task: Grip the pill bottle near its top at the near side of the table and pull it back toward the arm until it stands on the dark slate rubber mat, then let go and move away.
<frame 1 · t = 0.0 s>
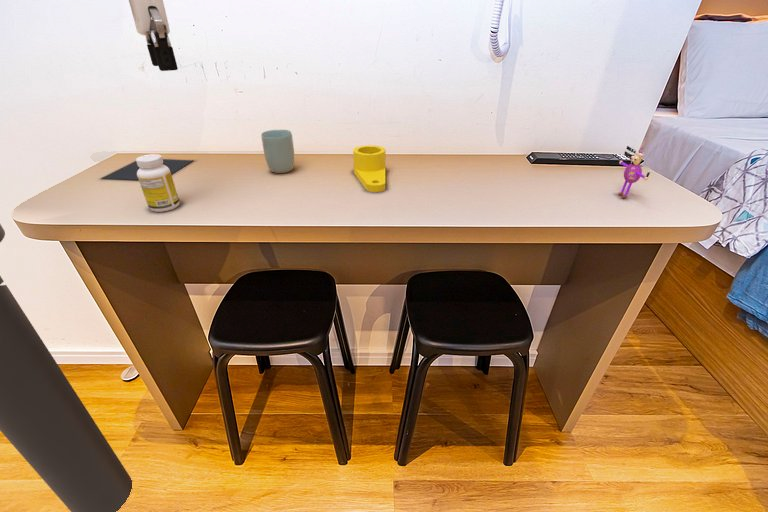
hand: (165, 67, 79), 27 cm above the table, tool pointing down, fingers open, 9 cm apart
cup: (282, 171, 104), on the table
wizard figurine: (623, 197, 90), on the table
pill bottle: (165, 207, 85), on the table
mat: (150, 169, 105), on the table
crank: (372, 179, 99), on the table
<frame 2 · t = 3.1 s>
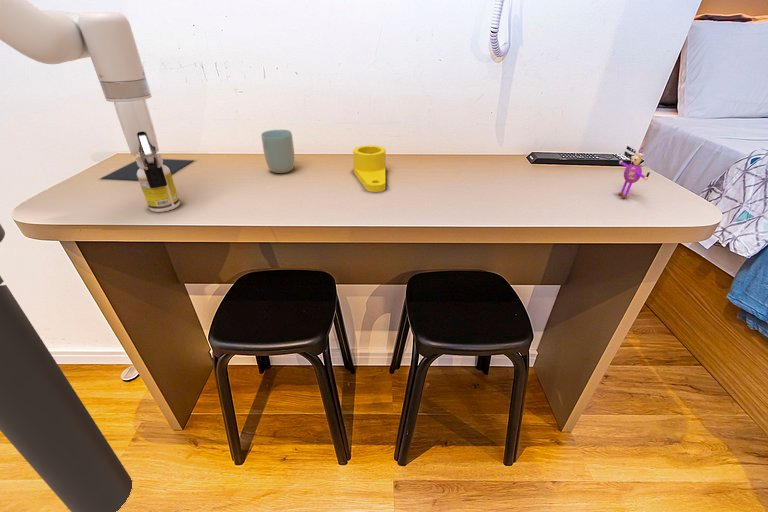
hand: (156, 180, 81), 6 cm above the table, tool pointing down, fingers closed on pill bottle, 6 cm apart
pill bottle: (165, 207, 85), on the table, touching gripper
everything else where it was.
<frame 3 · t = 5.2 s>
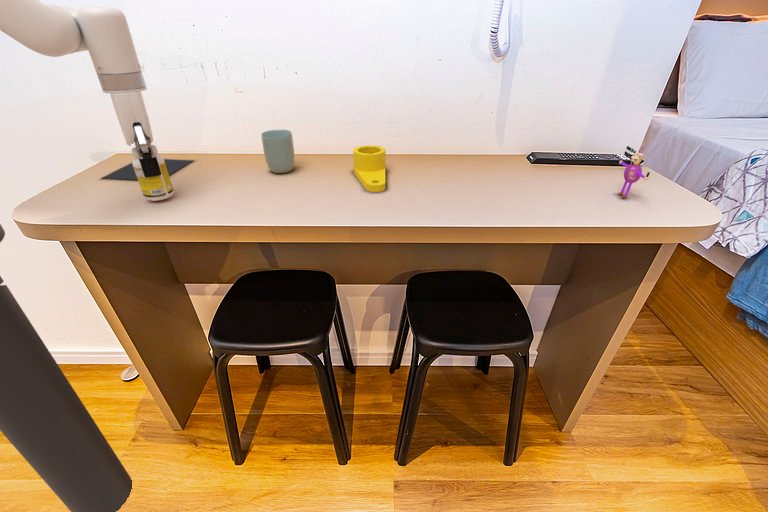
hand: (151, 170, 85), 7 cm above the table, tool pointing down, fingers closed on pill bottle, 6 cm apart
pill bottle: (159, 196, 88), point 1 cm above the table, touching gripper
everything else where it was.
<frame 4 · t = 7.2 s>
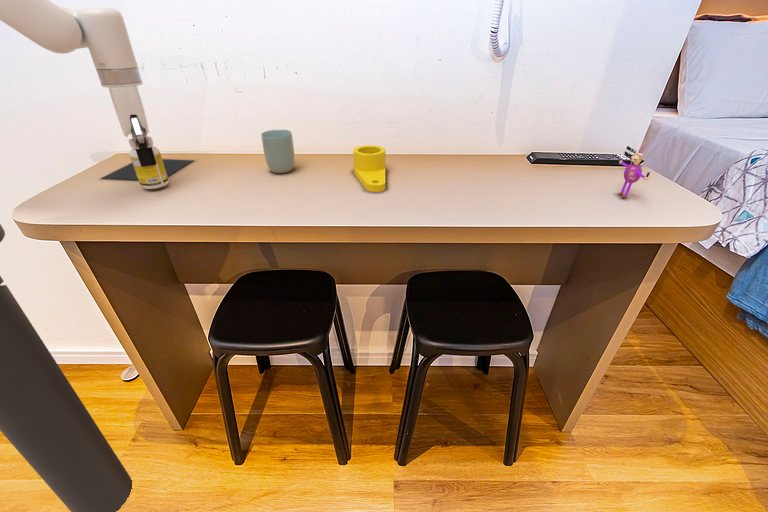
hand: (147, 160, 90), 7 cm above the table, tool pointing down, fingers closed on pill bottle, 6 cm apart
pill bottle: (155, 185, 94), point 1 cm above the table, touching gripper
everything else where it was.
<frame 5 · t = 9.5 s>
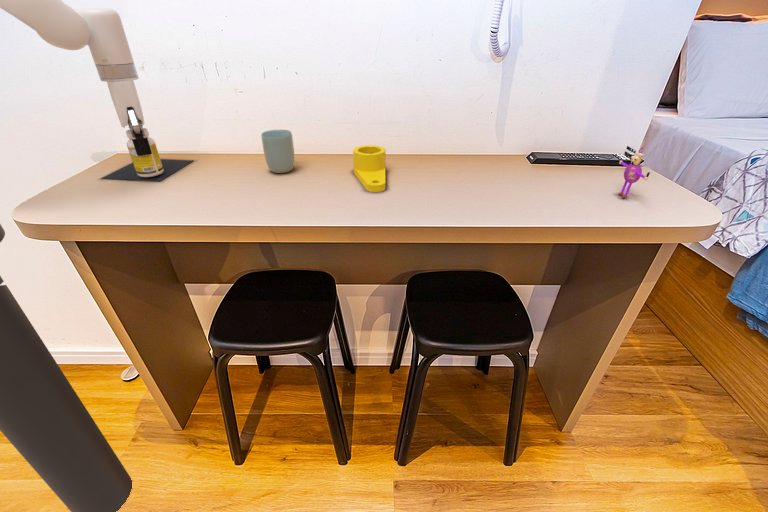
hand: (143, 150, 97), 7 cm above the table, tool pointing down, fingers closed on pill bottle, 6 cm apart
pill bottle: (151, 174, 100), point 1 cm above the table, touching gripper
everything else where it was.
when the fingers open (6 cm above the table, at t = 11.7 s): pill bottle stays where it is, resting on mat.
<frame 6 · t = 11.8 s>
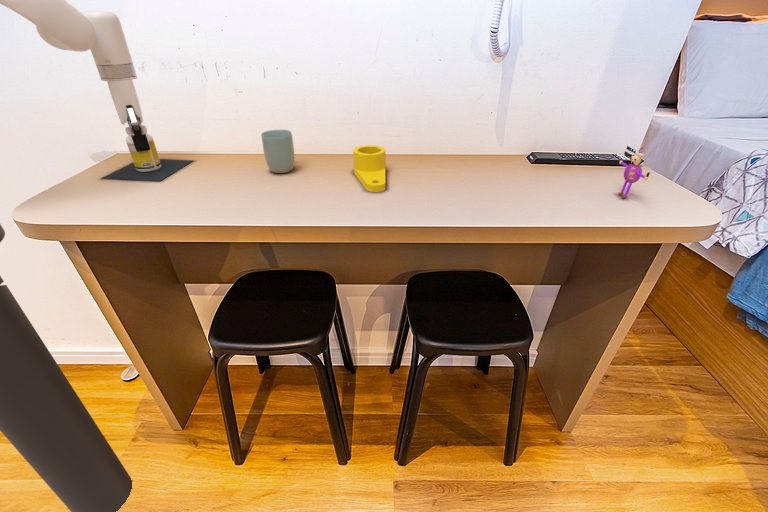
hand: (142, 146, 101), 6 cm above the table, tool pointing down, fingers open, 6 cm apart
pill bottle: (149, 169, 105), resting on mat
everything else where it was.
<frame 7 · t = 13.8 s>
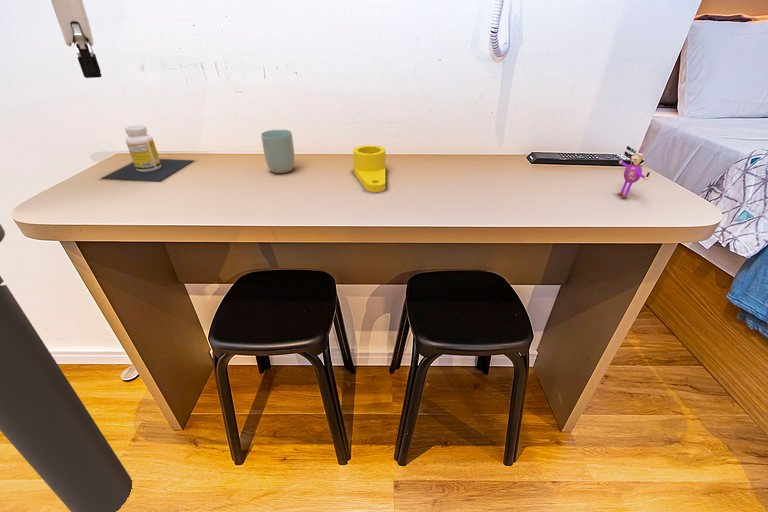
hand: (93, 75, 88), 24 cm above the table, tool pointing down, fingers open, 9 cm apart
nothing on the table moved.
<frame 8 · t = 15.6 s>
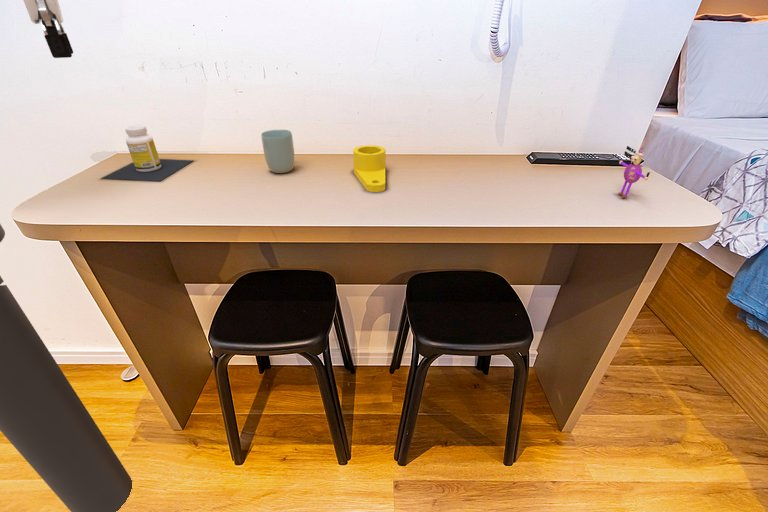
hand: (64, 55, 83), 28 cm above the table, tool pointing down, fingers open, 9 cm apart
nothing on the table moved.
at the end: pill bottle inside the target area on the mat (0.1 cm from its centre), point 0.0 cm above the mat's base; pill bottle tilted 0°; pill bottle moved 28.4 cm from its start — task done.
